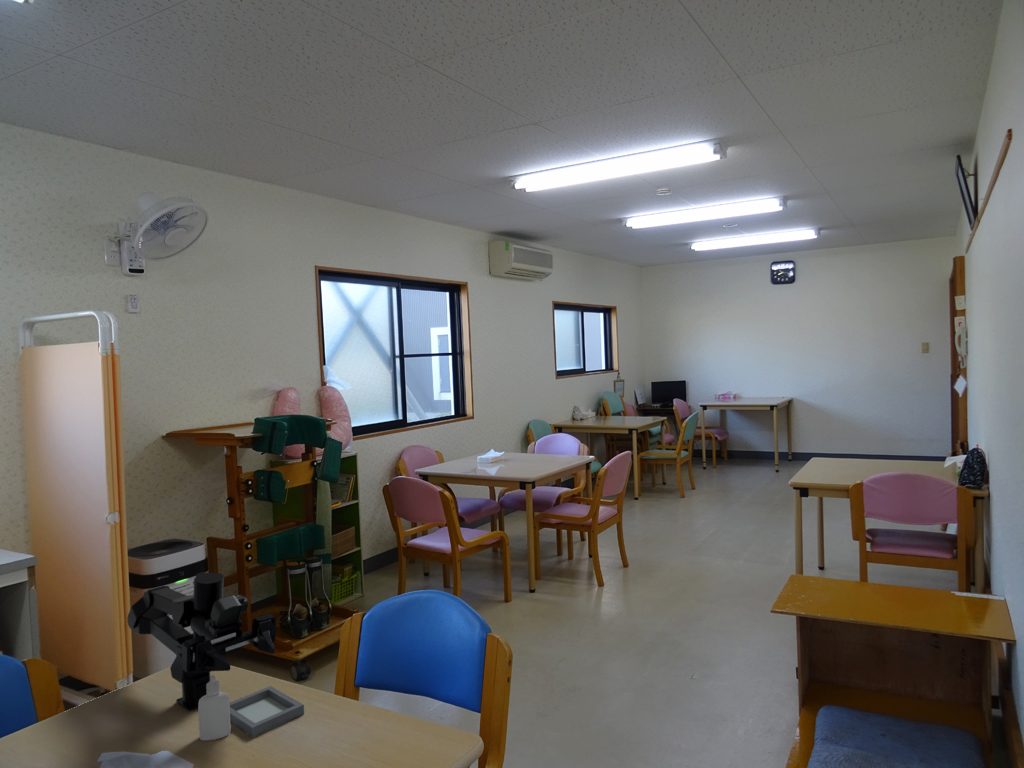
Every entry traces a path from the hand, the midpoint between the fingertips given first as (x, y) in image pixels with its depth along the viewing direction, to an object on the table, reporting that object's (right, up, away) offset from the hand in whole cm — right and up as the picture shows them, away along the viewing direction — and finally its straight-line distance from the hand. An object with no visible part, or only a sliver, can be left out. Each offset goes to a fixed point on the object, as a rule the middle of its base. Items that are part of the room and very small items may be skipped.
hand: (252, 659), depth 134 cm
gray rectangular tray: (-2, -16, +10) cm, 19 cm away
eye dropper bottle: (-8, -16, +3) cm, 19 cm away
